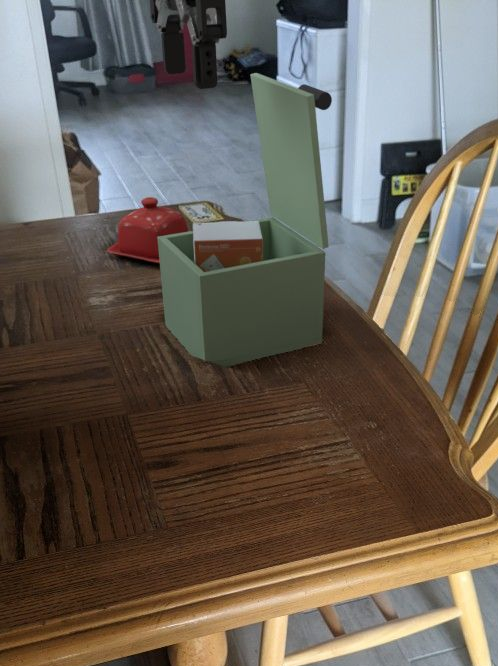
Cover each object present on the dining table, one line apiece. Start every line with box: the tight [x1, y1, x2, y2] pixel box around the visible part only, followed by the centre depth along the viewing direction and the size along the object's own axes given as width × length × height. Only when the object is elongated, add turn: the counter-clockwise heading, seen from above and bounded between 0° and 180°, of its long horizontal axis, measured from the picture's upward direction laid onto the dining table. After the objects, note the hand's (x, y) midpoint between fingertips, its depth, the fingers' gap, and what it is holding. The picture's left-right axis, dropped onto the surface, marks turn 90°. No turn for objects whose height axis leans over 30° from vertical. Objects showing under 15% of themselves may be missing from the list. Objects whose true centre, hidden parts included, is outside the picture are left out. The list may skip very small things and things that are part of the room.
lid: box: [250, 72, 333, 250], centre depth 91 cm, size 17×14×5 cm
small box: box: [192, 220, 263, 272], centre depth 95 cm, size 8×6×13 cm
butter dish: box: [106, 196, 190, 264], centre depth 121 cm, size 12×12×8 cm
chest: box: [157, 216, 326, 368], centre depth 96 cm, size 16×14×12 cm
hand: (189, 80), depth 80 cm, fingers open, 8 cm apart
